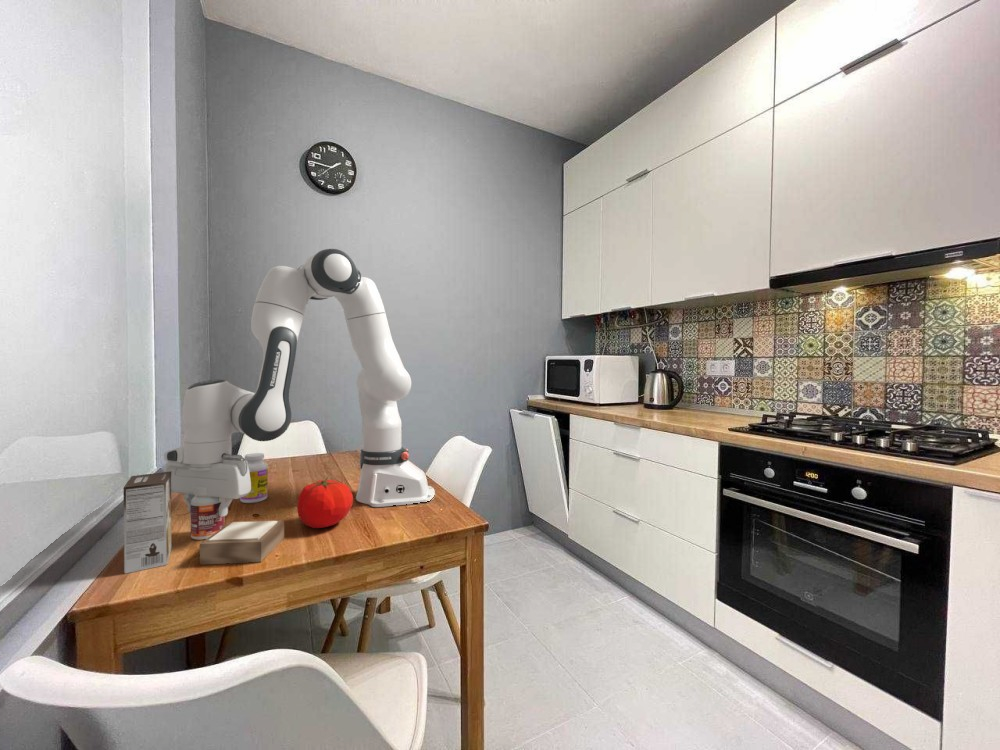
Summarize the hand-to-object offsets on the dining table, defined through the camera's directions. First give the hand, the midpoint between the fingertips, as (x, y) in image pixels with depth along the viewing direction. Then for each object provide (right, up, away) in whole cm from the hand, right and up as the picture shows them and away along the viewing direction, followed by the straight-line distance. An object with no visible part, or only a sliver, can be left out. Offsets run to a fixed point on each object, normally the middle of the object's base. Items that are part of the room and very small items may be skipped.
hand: (207, 514), depth 91 cm
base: (+13, -5, -7) cm, 16 cm away
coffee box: (-3, -5, -12) cm, 13 cm away
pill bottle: (0, -5, 0) cm, 5 cm away
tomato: (+23, -5, +7) cm, 25 cm away
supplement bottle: (-4, -4, +24) cm, 25 cm away
